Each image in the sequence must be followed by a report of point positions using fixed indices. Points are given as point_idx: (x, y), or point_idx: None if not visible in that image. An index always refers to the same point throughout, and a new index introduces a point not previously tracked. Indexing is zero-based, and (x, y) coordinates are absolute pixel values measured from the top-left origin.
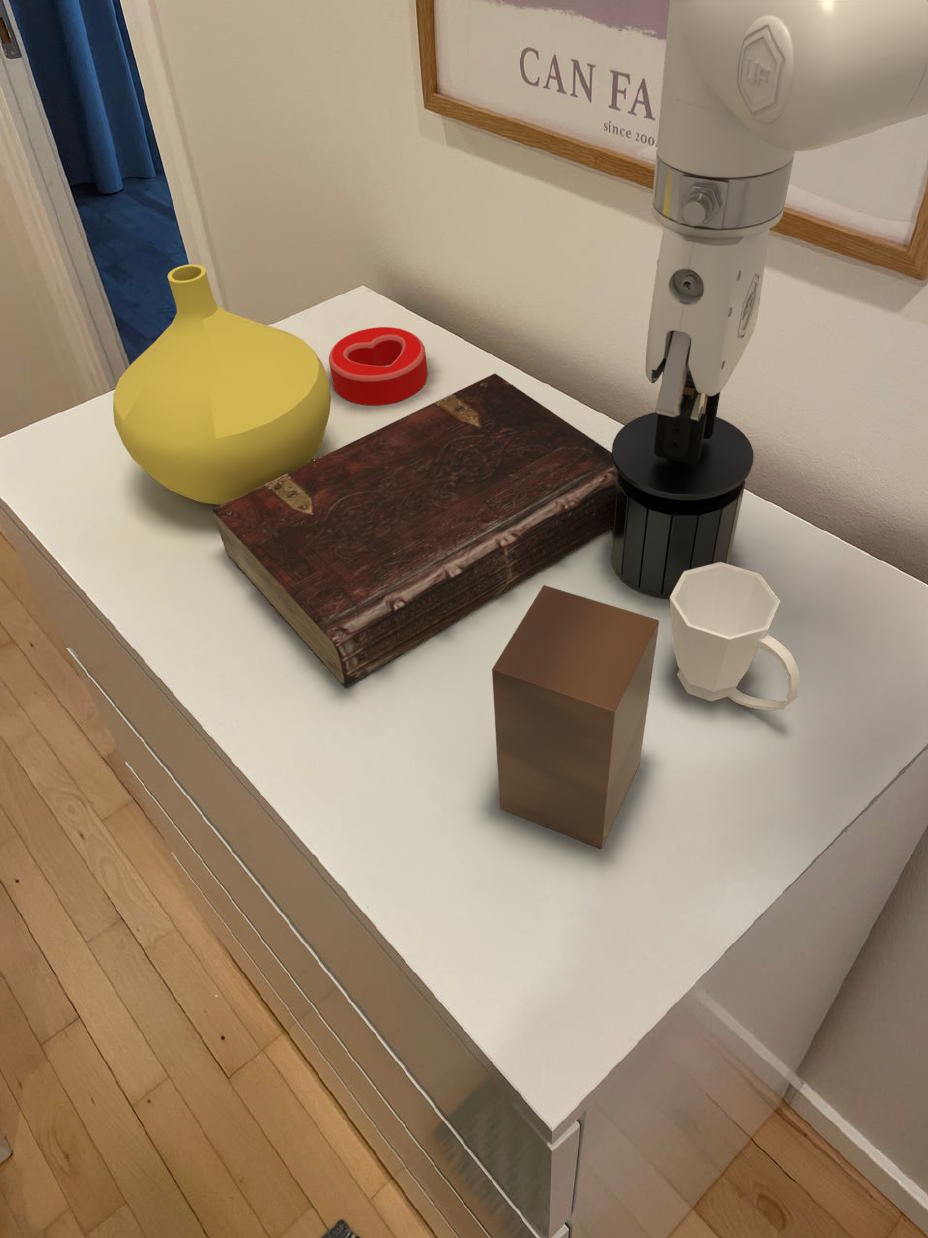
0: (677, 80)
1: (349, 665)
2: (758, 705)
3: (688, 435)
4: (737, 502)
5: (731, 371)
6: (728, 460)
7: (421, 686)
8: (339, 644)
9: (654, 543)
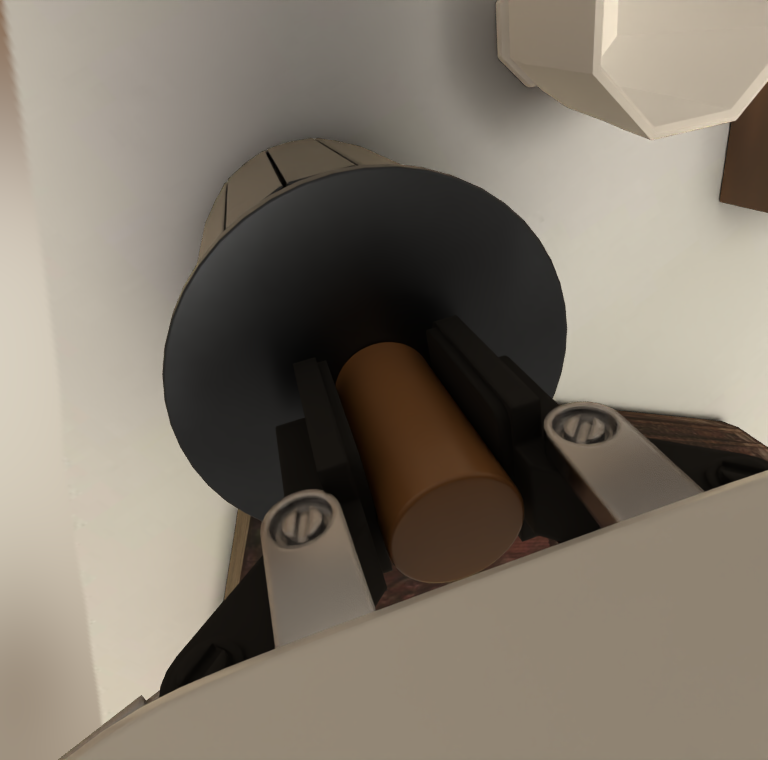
0: None
1: (746, 436)
2: None
3: (536, 391)
4: (352, 163)
5: (752, 513)
6: (350, 255)
7: (696, 364)
8: None
9: None
